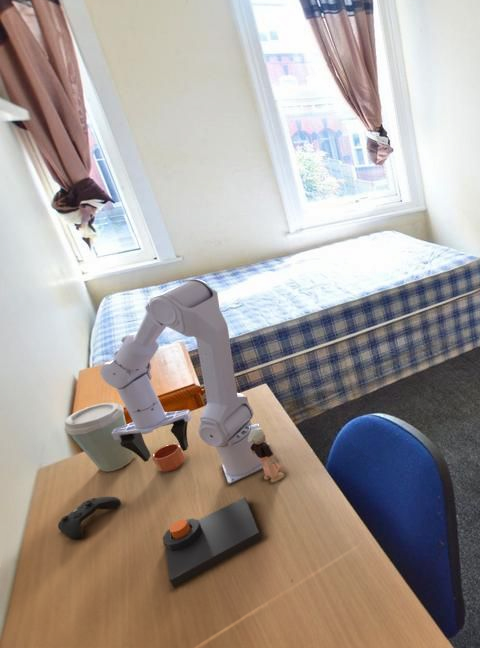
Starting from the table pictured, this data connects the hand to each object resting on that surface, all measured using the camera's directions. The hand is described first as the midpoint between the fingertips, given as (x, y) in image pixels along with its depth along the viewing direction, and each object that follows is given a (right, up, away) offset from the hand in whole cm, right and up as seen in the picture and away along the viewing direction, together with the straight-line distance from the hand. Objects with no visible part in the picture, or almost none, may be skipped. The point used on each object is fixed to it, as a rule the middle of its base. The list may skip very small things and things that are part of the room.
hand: (166, 453), depth 108 cm
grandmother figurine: (+27, -3, -5) cm, 28 cm away
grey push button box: (+24, -10, -21) cm, 33 cm away
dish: (0, -3, +1) cm, 3 cm away
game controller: (-6, -10, -13) cm, 17 cm away
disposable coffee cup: (-14, -4, +4) cm, 15 cm away
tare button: (+19, -8, -22) cm, 30 cm away
